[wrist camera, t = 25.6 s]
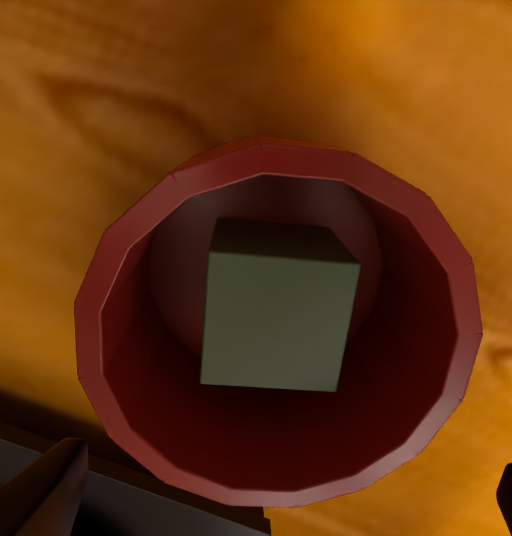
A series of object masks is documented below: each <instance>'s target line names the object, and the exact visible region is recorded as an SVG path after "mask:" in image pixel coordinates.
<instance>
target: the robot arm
mask: <svg viewBox="0 0 512 536" xmlns="http://www.w3.org/2000/svg"><path fill="white" fill-rule="evenodd" d="M87 478H88V445H87V441H86V440H85V439H83V438H65V439H63V440H62V441H60V442H59V443H58V444H56V445H55V446H54V447H52V448H51V449H50V450H48V451H47V452H46V453H44V454H43V455H42V456H41V457H39V458H38V459H37V460H35V461H34V462H33V463H31V464H30V465H29V466H27V467H26V468H25V469H23V470H22V471H21V472H20V473H18V474H17V475H16V476H14V477H13V478H12V479H10V480H9V481H8V482H6V483H5V484H4V485H2V486H1V487H0V536H70V533H71V530H72V527H73V524H74V521H75V517H76V514H77V511H78V508H79V505H80V501H81V498H82V495H83V492H84V489H85V485H86V482H87ZM496 498H497V502H498V505H499V508H500V510H501V512H502V515H503V517H504V519H505V522H506V524H507V527H508V529H509V531H510V534H511V536H512V463H509V464H507V465H506V467H505V469H504V472H503V474H502V477H501V480H500V482H499V485H498V488H497V491H496Z"/></svg>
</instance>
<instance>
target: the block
mask: <svg viewBox="0 0 512 536" xmlns="http://www.w3.org/2000/svg"><path fill="white" fill-rule="evenodd" d="M360 267H361V264H360V262H359V261H358V260H357V259H356V258H355V257H354V255H353V254H352V253H351V252H350V251H349V250H348V249H347V247H346V246H345V245H344V244H343V243H342V242H341V240H340V239H339V238H338V237H337V236H336V235H335V233H334V232H333V231H332V230H331V229H330V228H328V227H317V226H306V225H295V224H284V223H272V222H261V221H250V220H239V219H228V218H217V219H216V221H215V225H214V230H213V234H212V238H211V242H210V246H209V250H208V260H207V275H206V290H205V305H204V321H203V336H202V351H201V367H200V383H201V384H213V385H229V386H245V387H261V388H277V389H293V390H310V391H326V392H336V391H337V387H338V382H339V376H340V371H341V366H342V361H343V356H344V350H345V345H346V340H347V335H348V330H349V324H350V319H351V314H352V309H353V303H354V298H355V293H356V288H357V283H358V277H359V272H360Z"/></svg>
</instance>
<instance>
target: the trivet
mask: <svg viewBox="0 0 512 536" xmlns="http://www.w3.org/2000/svg"><path fill="white" fill-rule="evenodd" d="M56 444H58V442H55V441H53V440H50V439H47V438H44V437H42V436H39V435H36V434H33V433H31V432H28V431H25V430H22V429H19V428H17V427H14V426H11V425H8V424H6V423H3V422H0V487H1V486H2V485H4V484H5V483H6V482H8V481H9V480H10V479H12V478H13V477H14V476H16V475H17V474H18V473H20V472H21V471H22V470H23V469H25V468H26V467H27V466H29V465H30V464H31V463H33V462H34V461H35V460H37V459H38V458H39V457H41V456H42V455H43V454H44V453H46V452H47V451H48V450H50V449H51V448H52V447H54V446H55V445H56ZM70 535H72V536H271V526H270V519H267V518H265V517H264V512H263V507H256V506H229V505H227V504H222V503H219V502H216V501H214V500H211V499H208V498H205V497H202V496H200V495H197V494H194V493H191V492H189V491H186V490H183V489H180V488H178V487H175V486H172V485H169V484H167V483H164V481H162V480H160V479H157V478H155V477H152V476H149V475H146V474H143V473H141V472H138V471H135V470H132V469H130V468H127V467H124V466H121V465H119V464H116V463H113V462H110V461H108V460H105V459H102V458H99V457H97V456H94V455H91V454H88V478H87V482H86V485H85V489H84V492H83V495H82V498H81V501H80V505H79V508H78V511H77V514H76V517H75V521H74V524H73V527H72V530H71V533H70Z"/></svg>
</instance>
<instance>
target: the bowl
mask: <svg viewBox="0 0 512 536" xmlns="http://www.w3.org/2000/svg"><path fill="white" fill-rule="evenodd" d="M217 218H228V219H239V220H250V221H261V222H272V223H284V224H295V225H306V226H317V227H328V228H330V229H331V230H332V231H333V232H334V233H335V235H336V236H337V237H338V238H339V239H340V240H341V242H342V243H343V244H344V245H345V246H346V247H347V249H348V250H349V251H350V252H351V253H352V254H353V255H354V257H355V258H356V259H357V260H358V261H359V262H360V264H361V267H360V272H359V277H358V283H357V288H356V293H355V298H354V303H353V309H352V314H351V319H350V324H349V330H348V335H347V340H346V345H345V350H344V356H343V361H342V366H341V371H340V376H339V382H338V387H337V391H336V392H326V391H310V390H293V389H277V388H261V387H245V386H229V385H213V384H201V383H200V367H201V351H202V336H203V321H204V305H205V290H206V275H207V260H208V250H209V246H210V242H211V238H212V234H213V230H214V225H215V221H216V219H217ZM74 319H75V338H76V356H77V374H78V376H79V377H78V380H79V382H80V383H81V385H82V387H83V389H84V391H85V393H86V395H87V397H88V398H89V400H90V402H91V404H92V406H93V408H94V410H95V412H96V413H97V415H98V417H99V419H100V421H101V423H102V425H103V427H104V428H105V430H106V432H107V434H108V436H109V437H110V438H111V439H112V440H113V441H114V442H115V443H116V444H117V445H119V446H120V447H121V448H122V449H123V450H125V451H126V452H127V453H128V454H130V455H131V456H132V457H133V458H134V459H136V460H137V461H138V462H139V463H140V464H142V465H143V466H144V467H145V468H146V469H148V470H149V471H150V472H151V473H153V474H154V475H155V476H156V477H157V478H159V479H160V480H162V481H164V483H167V484H169V485H172V486H175V487H178V488H180V489H183V490H186V491H189V492H191V493H194V494H197V495H200V496H202V497H205V498H208V499H211V500H214V501H216V502H219V503H222V504H227V505H229V506H256V507H282V508H294V507H301V506H304V505H308V504H312V503H316V502H320V501H323V500H327V499H331V498H335V497H338V496H342V495H346V494H350V493H354V492H357V491H360V490H361V489H365V488H366V487H368V486H369V485H371V484H373V483H374V482H376V481H377V480H379V479H380V478H382V477H384V476H385V475H387V474H388V473H390V472H392V471H393V470H395V469H396V468H398V467H399V466H401V465H403V464H404V463H406V462H407V461H409V460H411V459H412V458H414V457H415V456H417V455H418V454H419V453H421V452H422V451H423V449H424V448H425V447H426V446H427V444H428V443H429V442H430V441H431V439H432V438H433V437H434V436H435V434H436V433H437V432H438V431H439V429H440V428H441V427H442V426H443V424H444V423H445V422H446V421H447V419H448V418H449V417H450V416H451V414H452V413H453V412H454V411H455V409H456V408H457V407H458V406H459V404H460V403H461V402H462V399H463V398H464V395H465V392H466V389H467V385H468V382H469V379H470V375H471V372H472V369H473V365H474V362H475V359H476V356H477V352H478V349H479V346H480V342H481V339H482V336H483V333H482V330H483V329H482V322H481V315H480V307H479V300H478V293H477V286H476V279H475V272H474V264H473V262H472V258H471V256H470V255H469V253H468V252H467V250H466V249H465V247H464V246H463V244H462V243H461V241H460V240H459V238H458V237H457V236H456V234H455V233H454V231H453V230H452V228H451V227H450V225H449V224H448V222H447V221H446V219H445V218H444V216H443V215H442V214H441V212H440V211H439V209H438V208H437V206H436V205H435V203H434V202H433V200H432V199H431V197H429V196H427V195H426V193H425V192H423V191H421V190H420V189H418V188H416V187H414V186H413V185H411V184H409V183H407V182H406V181H404V180H402V179H400V178H399V177H397V176H395V175H393V174H392V173H390V172H388V171H387V170H385V169H383V168H381V167H380V166H378V165H376V164H374V163H373V162H371V161H369V160H367V159H366V158H364V157H362V156H360V155H359V154H357V153H354V152H350V151H348V150H344V149H340V148H336V147H332V146H328V145H324V144H320V143H316V142H312V141H307V140H296V139H286V138H276V137H265V136H253V137H252V136H248V137H245V138H242V139H239V140H236V141H233V142H230V143H226V144H223V145H220V146H218V147H215V148H211V149H208V150H205V151H202V152H199V153H197V154H195V155H194V156H192V157H191V158H189V159H188V160H186V161H185V162H184V163H182V164H181V165H179V166H178V167H176V168H175V169H174V170H172V171H171V172H169V173H168V174H167V175H166V176H165V177H164V178H162V179H161V180H160V181H159V182H158V183H157V184H156V185H155V186H153V187H152V188H151V189H150V190H149V191H148V192H147V193H146V194H145V195H143V196H142V197H141V198H140V199H139V200H138V201H137V202H136V203H135V204H133V205H132V206H131V207H130V208H129V209H128V210H127V211H126V212H124V213H123V214H122V215H121V216H120V217H119V218H118V219H117V220H116V221H114V222H113V223H112V224H111V225H110V226H109V227H108V228H107V229H106V230H105V232H104V233H103V235H102V237H101V240H100V242H99V244H98V247H97V249H96V251H95V254H94V256H93V259H92V261H91V263H90V266H89V268H88V270H87V273H86V275H85V277H84V280H83V282H82V285H81V287H80V289H79V292H78V294H77V296H76V299H75V301H74Z"/></svg>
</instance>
